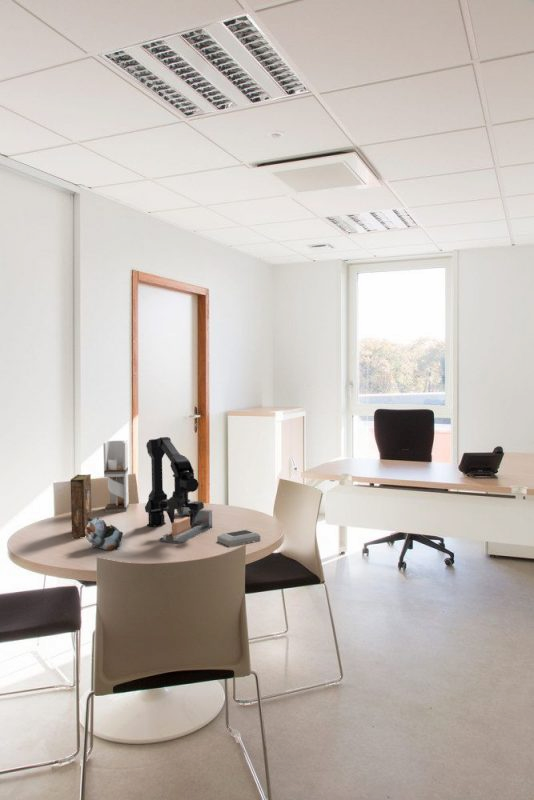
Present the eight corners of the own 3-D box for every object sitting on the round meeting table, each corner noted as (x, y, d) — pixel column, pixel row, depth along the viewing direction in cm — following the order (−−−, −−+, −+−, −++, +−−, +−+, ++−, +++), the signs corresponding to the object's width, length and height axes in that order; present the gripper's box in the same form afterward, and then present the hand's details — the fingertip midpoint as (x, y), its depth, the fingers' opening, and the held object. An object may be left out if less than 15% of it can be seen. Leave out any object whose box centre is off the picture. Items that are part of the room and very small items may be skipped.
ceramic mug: (198, 514, 310) (197, 499, 310) (183, 517, 305) (183, 501, 305) (187, 511, 319) (186, 496, 319) (172, 513, 314) (172, 498, 314)
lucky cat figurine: (120, 551, 247) (102, 522, 243) (93, 562, 248) (75, 534, 244) (126, 531, 261) (110, 504, 257) (101, 542, 262) (84, 515, 258)
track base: (159, 541, 261) (158, 522, 261) (192, 525, 287) (192, 508, 287) (180, 543, 257) (179, 524, 257) (212, 527, 283) (212, 510, 283)
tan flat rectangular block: (171, 537, 263) (171, 523, 263) (186, 530, 274) (186, 517, 274) (176, 537, 262) (176, 523, 262) (191, 531, 273) (190, 517, 273)
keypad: (217, 533, 260) (247, 528, 268) (217, 542, 260) (247, 536, 268) (229, 538, 252) (260, 532, 261) (229, 547, 252) (260, 541, 261)
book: (84, 538, 268) (83, 479, 267) (71, 538, 267) (69, 480, 266) (91, 528, 284) (90, 473, 283) (79, 529, 284) (78, 474, 283)
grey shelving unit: (108, 507, 330) (106, 440, 329) (128, 506, 331) (127, 440, 330) (104, 512, 319) (103, 443, 317) (126, 511, 320) (124, 442, 319)
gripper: (152, 490, 264) (152, 527, 265) (191, 493, 257) (191, 531, 257) (166, 486, 274) (167, 521, 275) (204, 488, 267) (204, 525, 267)
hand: (181, 524), depth 268 cm, fingers open, 9 cm apart
